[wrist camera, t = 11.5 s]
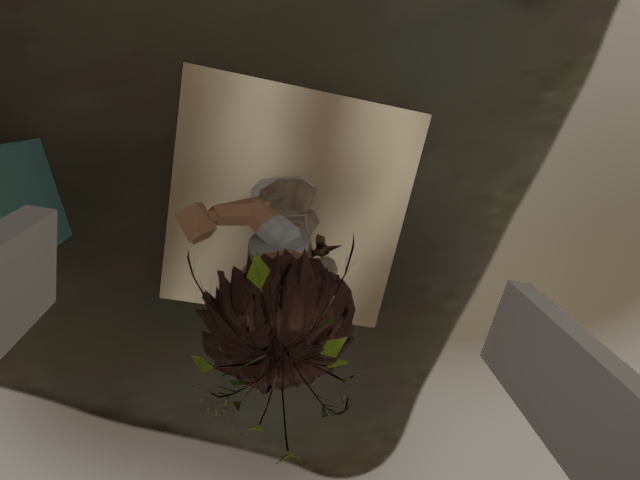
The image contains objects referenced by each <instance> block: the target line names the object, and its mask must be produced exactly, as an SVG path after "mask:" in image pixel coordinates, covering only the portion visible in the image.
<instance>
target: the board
mask: <svg viewBox="0 0 640 480" xmlns="http://www.w3.org/2000/svg"><path fill="white" fill-rule="evenodd" d="M431 116H432V115H431V114H426V113H421V112H417V111H412V110H407V109H403V108H398V107H393V106H388V105H384V104H379V103H374V102H370V101H365V100H360V99H356V98H351V97H346V96H341V95H337V94H332V93H327V92H323V91H318V90H313V89H308V88H304V87H299V86H294V85H290V84H285V83H280V82H275V81H271V80H266V79H261V78H257V77H252V76H247V75H242V74H238V73H233V72H228V71H224V70H219V69H214V68H210V67H205V66H200V65H195V64H191V63H186V62H183V71H182V81H181V91H180V100H179V110H178V120H177V130H176V139H175V149H174V159H173V169H172V179H171V188H170V198H169V208H168V218H167V227H166V237H165V247H164V257H163V266H162V276H161V286H160V296H159V298H165V299H172V300H179V301H186V302H193V303H201V304H205V302H204V300H203V299H202V296H203V294H202V292H201V290H200V289H199V287H198V285H197V284H196V282H195V280H194V278H193V277H192V273H191V270H190V266H189V263H188V260H187V256H188V251H189V259H190V263H191V267H192V270H193V274H194V277H195V279H196V281H197V282H198V284H199V286H200V288H201V289H202V288H203V290H202V291H203V292H205V290H206V291H207V292H208V293H209V294H211V295H212V296H213V297H214V298H216V286H217V288H218V290H219V278H218V273H217V271H218V270H219V271H224V275H225V277H226V279H227V280H228V281H229V282H230V283H231V275H232V268H233V266H235V267H236V268H238V269H239V270H241V271H242V270H243V268H244V266H246V265H247V254H248V241H249V239H250V238H251V237H252V236H253V235H254V234H255V232H254V231H253V230H252V229H251V228H250V227H249V226H216V227H217V229H216V230H215V232H214V233H213V234H212V235H211V237H210V238H208V239H205V240H203V241H201V242H199V243H196V244H194V245H193V244H192V242H190V243H189V242H188V240H187V238H186V236H185V234H184V232H183V231H182V229H181V227H180V225H179V223H178V222H177V220H176V218H175V216H174V215H175V214H176V213H177V212H178V211H180V210H182V209H184V208H186V207H188V206H190V205H191V204H193V203H195V202H198V203H203V204H204V206H205V207H206V209H207V211H208V210H209V209H210V208H211V207H212V206H213V205H218V204H222V203H227V202H232V201H237V200H242V199H247V198H252V188H253V187H254V186H255V185H256V184H257V183H258V182H260V181H261V180H263V179H276V178H289V177H301V176H302V177H304V178H305V179H307V180H308V181H310V182H311V183H312V184H314V185H315V188H316V189H317V192H316V194H315V198H314V200H313V203H312V208H313V210H314V211H315V213H316V215H317V217H318V219H319V222H320V223H319V224H318V225H317V227H316V228H315V229H314V231H313V232H312V235H311V237H310V241H311V244H312V248H313V250H315V248H316V239H315V238H316V236H317V234H319V235H321V236H324V237H325V244H326V245H327V246H339V245H342V246H340V247H338V248H336V249H334V250H332V251H330V252H329V254H328V255H326V256H329V257H330V258H332V259H334V260H335V263H336V266H337V272H338V274H337V273H336V274H337V275H340V278H341V279H342V277H343V275H344V273H345V267H347V263H348V259H349V256H350V252H351V248H352V243H353V232H354V249H353V253H352V256H351V260H350V263H349V266H348V270H347V271H348V272H347V273H346V275H345V277H344V279H343V280H344V281H345V282H346V284H347V285H348V287H349V288H350V289H351V291H352V297H353V301H354V305H355V314H354V317H353V320H352V325H358V326H366V327H373V328H375V325H376V321H377V318H378V314H379V310H380V306H381V303H382V299H383V295H384V292H385V288H386V284H387V280H388V277H389V273H390V269H391V265H392V262H393V258H394V254H395V250H396V247H397V243H398V239H399V236H400V232H401V228H402V224H403V221H404V217H405V213H406V209H407V206H408V202H409V198H410V194H411V191H412V187H413V183H414V180H415V176H416V172H417V168H418V165H419V161H420V157H421V153H422V150H423V146H424V142H425V139H426V135H427V131H428V127H429V124H430V120H431ZM214 224H215V223H214ZM215 225H216V224H215ZM340 255H341V256H340ZM317 257H318V258H320V256H315V257H313V258H317ZM324 257H325V256H324ZM346 257H347V261H346ZM194 258H195V261H194ZM339 261H340V262H339ZM352 264H353V265H352ZM338 267H339V268H338ZM350 267H351V268H350ZM349 268H350V269H349ZM190 273H191V274H190ZM199 277H200V278H199ZM200 281H201V282H200ZM191 283H192V284H193V285H194V286H195V287H196V288H197V289H196V288H195V287H194V286H193V285H192V284H191ZM201 285H202V286H201ZM210 287H211V293H210ZM196 295H197V296H196ZM199 297H200V298H199Z"/></svg>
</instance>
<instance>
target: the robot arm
mask: <svg viewBox="0 0 640 480" xmlns="http://www.w3.org/2000/svg"><path fill="white" fill-rule="evenodd" d="M56 262H57V209H51V208H45V207H38V206H32V205H25V206H23V207H21V208H19V209H17V210H16V211H14V212H12V213H10V214H8V215H6V216H4V217H3V218H1V219H0V360H1V359H2V358H3V357H4V355H5V354H6V353H7V352H8V351H9V350H10V349H11V348H12V347H13V346H14V345H15V344H16V343H17V342H18V341H19V340H20V339H21V337H22V336H23V335H24V334H25V333H26V332H27V331H28V330H29V329H30V328H31V327H32V326H33V325H34V324H35V323H36V322H37V321H38V320H39V318H40V317H41V316H42V315H43V314H44V313H45V312H46V311H47V310H48V309H49V308H50V307H51V306H52V305H53V304H54V303H55V302H56ZM480 356H481V357H482V358H483V360H484V361H485V362H486V364H487V365H488V367H489V368H490V369H491V371H492V372H493V374H494V375H495V376H496V378H497V379H498V380H499V382H500V383H501V385H502V386H503V387H504V389H505V390H506V392H507V393H508V394H509V396H510V397H511V398H512V400H513V401H514V403H515V404H516V405H517V407H518V408H519V410H520V411H521V412H522V413H523V415H524V416H525V418H526V419H527V421H528V422H529V423H530V425H531V426H532V428H533V429H534V430H535V432H536V433H537V434H538V436H539V437H540V438H541V440H542V441H543V443H544V444H545V446H546V447H547V448H548V450H549V451H550V453H551V454H552V455H553V457H554V458H555V459H556V461H557V462H558V464H559V465H560V466H561V468H562V469H563V471H564V472H565V473H566V475H567V476H568V477H569V479H570V480H640V375H639V374H638V373H637V372H636V371H634V370H633V369H632V368H631V367H630V366H629V365H627V364H626V363H625V362H624V361H623V360H621V359H620V358H619V357H618V356H617V355H615V354H614V353H613V352H612V351H611V350H609V349H608V348H607V347H605V345H603V344H602V343H601V342H600V341H598V340H597V339H596V338H595V337H594V336H592V335H591V334H590V333H589V332H588V331H587V330H585V329H584V328H583V327H582V326H580V325H579V324H578V323H577V322H576V321H574V320H573V319H572V318H571V317H570V316H569V315H567V314H566V313H565V312H564V311H562V310H561V309H560V308H559V307H558V306H557V305H555V304H554V303H553V302H552V301H551V300H549V299H548V298H547V297H546V296H545V295H543V294H542V293H541V292H540V291H539V290H537V289H536V288H535V287H534V286H533V285H531V284H529V283H523V282H516V281H509V280H508V282H507V284H506V288H505V290H504V293H503V295H502V298H501V301H500V303H499V306H498V309H497V311H496V314H495V317H494V319H493V322H492V325H491V328H490V330H489V333H488V336H487V338H486V341H485V344H484V346H483V349H482V352H481V355H480Z"/></svg>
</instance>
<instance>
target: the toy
mask: <svg viewBox="0 0 640 480" xmlns="http://www.w3.org/2000/svg"><path fill="white" fill-rule="evenodd" d="M316 192H317V189H316V188H315V185H314V184H312V183H311V182H310V181H308V180H307V179H305V178H304V177H302V176H301V177H289V178H276V179H263V180H261V181H260V182H258V183H257V184H256V185H255V186H254V187H253V188H252V198H247V199H242V200H237V201H232V202H227V203H222V204H218V205H213V206H212V207H211V208H210V209H209V210H208V211H207V209H206V207H205V206H204V204H203V203H198V202H195V203H193V204H191V205H190V206H188V207H186V208H184V209H182V210H180V211H178V212H177V213H176V214H175V215H174V216H175V218H176V220H177V222H178V223H179V225H180V227H181V229H182V231H183V232H184V234H185V236H186V238H187V240H188V242H189V243H190V242H192V244H193V245H194V244H196V243H199V242H201V241H203V240H205V239H208V238H210V237H211V235H212V234H213V233H214V232H215V230H216V229H217V227H216V226H249V227H250V228H251V229H252V230H253V231H254V232H255V234H254V235H253V236H252V237H251V238H250V239H249V241H248V254H247V265H246V266H244V268H243V270H242V271H241V270H239V269H238V268H236V267H235V266H233V268H232V275H231V283H230V282H229V281H228V280H227V279H226V277H225V275H224V271H219V270H218V271H217V273H218V278H219V290H218V288H217V286H216V298H214V297H213V296H212V295H211V294H209V293H208V292H207V291H206V290H205V292H203V291H202V290H203V288H202V289H201V288H200V286H199V284H198V282H197V281H196V279H195V277H194V274H193V270H192V267H191V263H190V259H189V251H188V256H187V260H188V263H189V266H190V270H191V273H192V277H193V278H194V280H195V282H196V284H197V285H198V287H199V289H200V290H201V292H202V294H203V296H202V299H203V300H204V302H205V304H206V305H207V310H204V309H203V310H196V311H197V312H198V314H199V315H200V316H201V318H202V319H203V320H204V322H205V323H206V324H207V327H208V329H209V330H210V332H211V334H210V333H207V332H204V331H202V342H203V346H204V351H205V353H206V354H207V355H209V356H210V357H211V358H212V359H214V360H215V361H216V363H215V366H213V365H212V366H211V364H209V363H208V362H206V361H205V360H204V359H203V358H201V357H200V356H192V355H190V356H191V358H192V359H193V360H194V362H195V363H196V364H197V366H198V367H199V368H200V370H201V371H202V372H203V374H204V373H206V372H207V371H209V370H211V369H213V368H214V369H216V370H218V371H221V372H223V373H225V374H223V375H222V376H224V375H227V374H228V375H231V376H232V375H234V376H235V377H237V379H238V380H239V381H230V382H231V383H232V384H233V386H235V385H242V384H244V385H247V386H246V387H245V386H243V387H244V388H242V389H240V390H238V391H237V392H239V391H241V390H243V389H245V388H248V386H250V387H252V388H256V389H260V392H261V393H262V394H266V393H268V392H269V391H270V389H271V388H272V389H271V393H270V396H269V399H268V403H269V400H270V397H271V394H272V391H273V387H275V388H278V389H280V390H282V400H283V413H284V427H285V439H286V448H287V455H286V456H284V457H283V458H282V459H281V460H280V461H279V462H281V461H283V460H284V459H286V458H288V457H298V456H295V455H292V454H289V450H288V443H287V436H286V424H285V411H284V398H283V389H285V388H288V387H291V386H296V387H298V386H299V385H300V384H301V383H302V382H303V383H306V384H307V385H308V384H311V383H312V382H313V381H314V380H315V378H316V377H320V375H322V374H325V373H328V374H330V375H332V376H334V377H335V378H337V379H339V380H341V381H342V382H345V379H341V378H339V377H337V376H335V375H333V374H331V372H332V371H333V367H337V366H341V365H345V364H349V363H348V362H346V361H344V360H342V359H340V360H338V361H337V358H339V357H340V355H341V354H342V353H343V352H344V351H345V350H346V349H347V348H348V347H349V346H350V344H351V343H352V342H353V340H354V339H353V337H352V334H353V326H352V320H353V317H354V314H355V305H354V301H353V297H352V291H351V289H350V288H349V287H348V285H347V284H346V282H345V281H344V280H343V279H344V277H345V275H346V273H347V272H348V271H347V270H348V266H349V263H350V260H351V256H352V253H353V249H354V232H353V243H352V248H351V252H350V256H349V259H348V263H347V267H345V273H344V275H343V277H342V279H341V278H340V275H337V274H338V272H337V266H336V263H335V260H334V259H332V258H330V257H329V256H326V255H328V254H329V252H330V251H332V250H334V249H336V248H338V247H340V246H342V245H339V246H327V245H326V244H325V237H324V236H321V235H319V234H317V236H316V238H315V239H316V248H315V250H313V248H312V244H311V241H310V237H311V235H312V232H313V231H314V229H315V228H316V227H317V225H318V224H319V223H320V222H319V219H318V217H317V215H316V213H315V211H314V210H313V208H312V203H313V200H314V198H315V194H316ZM214 223H215V224H216V225H215V224H214ZM315 256H320V258H318V257H317V258H313V257H315ZM324 256H325V257H324ZM340 256H341V255H340ZM194 261H195V258H194ZM346 261H347V257H346ZM339 262H340V261H339ZM352 265H353V264H352ZM338 268H339V267H338ZM350 268H351V267H350ZM350 268H349V269H350ZM191 273H190V274H191ZM336 273H337V274H336ZM199 278H200V277H199ZM200 282H201V281H200ZM191 284H192V283H191ZM192 285H193V284H192ZM193 286H194V285H193ZM201 286H202V285H201ZM194 287H195V286H194ZM195 288H196V287H195ZM196 289H197V288H196ZM210 293H211V287H210ZM196 296H197V295H196ZM199 298H200V297H199ZM202 308H203V307H202ZM362 362H363V361H362ZM362 362H361V363H362ZM361 363H360V364H361ZM360 364H358V365H357V366H359V365H360ZM357 366H356V367H357ZM355 370H356V369H355ZM194 372H198V373H199V372H200V371H194ZM360 374H361V373H360ZM353 376H354V375H353ZM353 376H352V377H353ZM220 377H221V376H220ZM352 377H350V378H352ZM350 382H351V381H350ZM200 385H201V384H199V385H196V386H192V387H193V388H194V389H195V390H196V391H197V390H198V388H199V386H200ZM341 385H342V384H341ZM231 386H232V385H231ZM308 387H309V388H310V386H309V385H308ZM221 388H223V387H221ZM238 388H239V387H238ZM252 388H251V389H252ZM346 388H347V389H348V390H349V388H350V386H348V387H346ZM224 389H226V388H224ZM310 389H311V388H310ZM227 390H229V389H227ZM230 391H233V390H230ZM311 391H312V389H311ZM210 392H211V391H210ZM233 392H235V393H237V392H236V391H233ZM312 392H313V391H312ZM214 393H215V392H214ZM214 393H211V394H212V395H214V396H216V397H218V398H221V397H224V398H225V397H226V396H228V397H227V399H226V400H225V402H228V401H229V400H228V398H229V396H230V395H233V394H235V393H232V394H227V395H223V396H217V395H216V394H214ZM313 393H314V392H313ZM220 394H224V393H220ZM247 394H248V393H247ZM247 394H246V395H247ZM314 395H315V393H314ZM346 395H347V394H346ZM346 395H345V396H344V397H343V398H344V401H345V398H346ZM315 396H316V397H317V395H315ZM318 397H319V396H318ZM318 397H317V399H318V400H319V398H318ZM224 398H223V399H224ZM321 398H322V397H321ZM348 398H349V397H348ZM348 398H347V402H346V407H345V410H344V411H342V413H343V412H345V411H346V410H348V408H349V407H350V406H349V405H348V406H349V407H347V403H348ZM203 399H204V397H203V398H202V399H201V400H200V401H199V402H200V404H202V401H203ZM233 400H234V399H233ZM326 400H327V399H326ZM319 401H320V400H319ZM329 401H330V400H329ZM344 401H343V404H344ZM351 401H352V400H351ZM320 402H321V401H320ZM233 403H234V405H235V406H236V408H237V410H238V411H239V408H240V404H241V401H240V402H233ZM268 403H267V406H268ZM211 404H212V403H211ZM211 404H210V406H209V407H208V409H207V410H206V412H208V411H210V407H211ZM219 404H220V405H219V406H221V407H223V403H219ZM321 404H322V402H321ZM322 405H323V406H324V404H322ZM219 406H218V407H217V408H216V409H215V410H214V412H213V413H214V415H215V416H217V413H218V409H219ZM226 406H227V403H225V407H226ZM267 406H266V409H267ZM326 406H329V405H326ZM324 407H325V406H324ZM324 407H323V410H322V417H325V416H328V415H327V413H326V411H325V409H324ZM331 407H333V406H331ZM325 408H326V407H325ZM336 408H337V407H336ZM266 409H265V412H266ZM326 409H327V408H326ZM350 409H351V408H350ZM327 410H329V411H331V409H327ZM232 411H233V410H232ZM334 411H335V410H334ZM265 412H264V414H265ZM331 412H332V413H334V415H335V414H337V415H340V414H342V413H341V412H339V413H340V414H338V413H335V412H333V411H331ZM226 413H227V410H226V408H225V409H224V410H223V412H222V413H221V414H226ZM329 413H330V412H329ZM264 414H263V416H262V418H261V421H262V419H263V417H264ZM332 416H333V415H332ZM261 421H260V423H259V425H256V426H254V427H252V428H249V429H247V430H258V431H264V432H266V431H265V430H264V429H263V427H262V426H261V425H260V424H261ZM231 422H232V418H231ZM235 425H236V424H235ZM235 428H236V427H235ZM238 431H239V433H240V426H239V428H238ZM241 435H242V431H241ZM299 458H301V457H299ZM279 462H278V463H279ZM276 464H277V463H276Z"/></svg>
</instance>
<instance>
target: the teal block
mask: <svg viewBox="0 0 640 480" xmlns="http://www.w3.org/2000/svg"><path fill="white" fill-rule="evenodd" d="M25 205H32V206H38V207H45V208H51V209H57V246H58V245H60V244H61V243H62V242H64V241H65V240H66V239H68V238H69V237H70V236H72V235H73V234H72V231H71V228H70V225H69V222H68V219H67V216H66V213H65V210H64V207H63V205H62V202H61V199H60V196H59V193H58V190H57V187H56V184H55V181H54V178H53V175H52V172H51V169H50V166H49V163H48V160H47V158H46V155H45V152H44V149H43V146H42V143H41V140H40V138H37V139H30V140H24V141H17V142H10V143H4V144H0V219H1V218H3V217H4V216H6V215H8V214H10V213H12V212H14V211H16V210H17V209H19V208H21V207H23V206H25Z"/></svg>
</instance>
